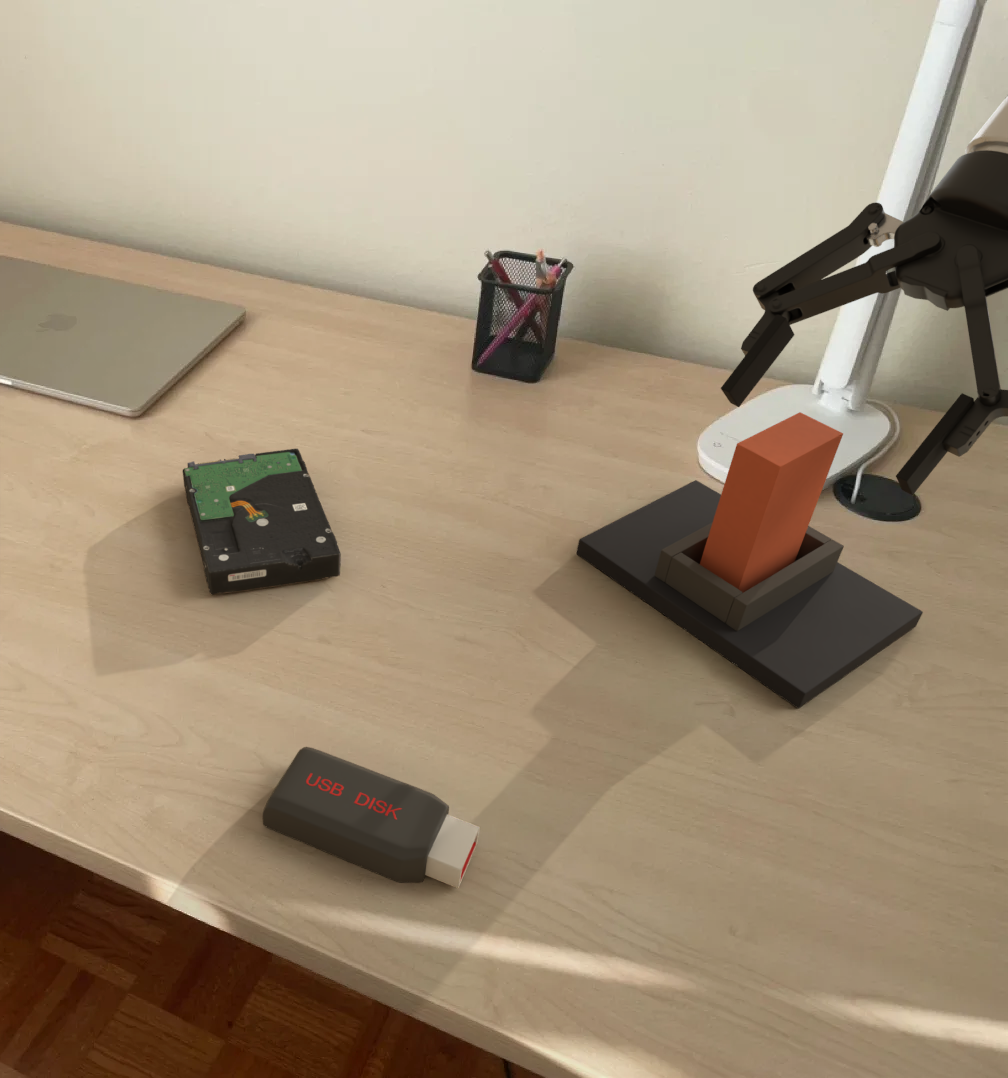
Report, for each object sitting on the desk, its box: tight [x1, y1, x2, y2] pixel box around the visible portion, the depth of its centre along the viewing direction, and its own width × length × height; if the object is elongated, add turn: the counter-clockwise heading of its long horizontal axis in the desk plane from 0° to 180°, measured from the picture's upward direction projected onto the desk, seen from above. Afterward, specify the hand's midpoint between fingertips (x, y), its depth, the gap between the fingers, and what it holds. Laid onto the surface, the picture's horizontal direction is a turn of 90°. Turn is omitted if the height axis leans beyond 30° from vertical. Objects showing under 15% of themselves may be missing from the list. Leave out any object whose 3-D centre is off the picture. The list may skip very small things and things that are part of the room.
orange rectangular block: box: [700, 412, 844, 593], centre depth 75 cm, size 3×7×12 cm, turn 125°
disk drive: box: [182, 448, 342, 596], centre depth 85 cm, size 10×3×15 cm
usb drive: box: [262, 746, 481, 889], centre depth 62 cm, size 5×12×3 cm, turn 63°
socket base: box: [575, 479, 924, 709], centre depth 79 cm, size 20×14×4 cm
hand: (811, 439), depth 74 cm, fingers open, 13 cm apart
